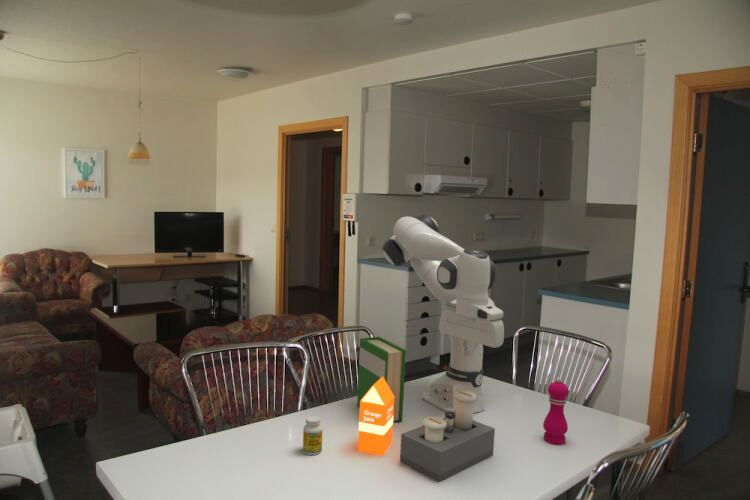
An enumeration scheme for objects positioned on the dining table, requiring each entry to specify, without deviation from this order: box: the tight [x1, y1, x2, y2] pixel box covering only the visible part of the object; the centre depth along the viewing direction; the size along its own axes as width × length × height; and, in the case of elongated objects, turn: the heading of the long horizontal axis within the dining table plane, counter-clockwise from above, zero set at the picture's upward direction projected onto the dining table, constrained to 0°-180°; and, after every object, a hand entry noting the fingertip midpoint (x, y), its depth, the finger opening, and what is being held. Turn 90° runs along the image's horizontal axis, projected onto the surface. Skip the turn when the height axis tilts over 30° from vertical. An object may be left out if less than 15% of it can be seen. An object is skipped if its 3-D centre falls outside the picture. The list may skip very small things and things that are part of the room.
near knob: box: [422, 416, 447, 444], centre depth 154 cm, size 6×6×10 cm
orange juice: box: [357, 377, 394, 456], centre depth 163 cm, size 8×9×20 cm
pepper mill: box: [542, 376, 570, 445], centre depth 174 cm, size 7×7×20 cm
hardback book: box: [356, 336, 407, 424], centre depth 188 cm, size 18×7×24 cm, turn 29°
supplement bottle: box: [302, 415, 323, 456], centre depth 159 cm, size 5×5×10 cm
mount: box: [399, 416, 496, 483], centre depth 159 cm, size 14×24×8 cm, turn 134°
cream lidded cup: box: [454, 391, 477, 432], centre depth 162 cm, size 6×6×10 cm
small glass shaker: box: [444, 411, 456, 433], centre depth 158 cm, size 3×3×5 cm
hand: (468, 355), depth 161 cm, fingers closed
